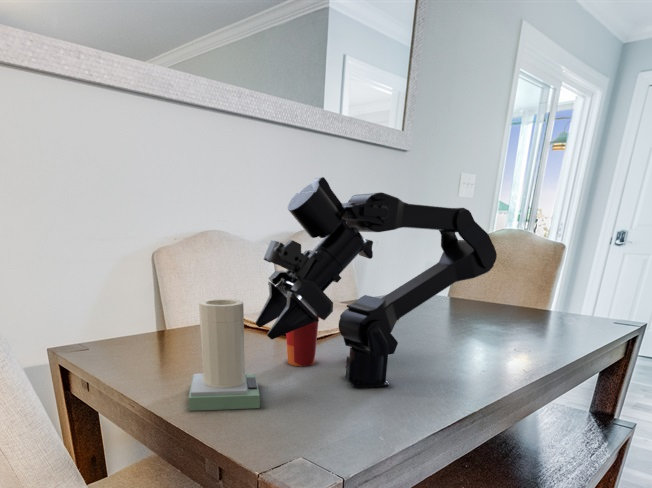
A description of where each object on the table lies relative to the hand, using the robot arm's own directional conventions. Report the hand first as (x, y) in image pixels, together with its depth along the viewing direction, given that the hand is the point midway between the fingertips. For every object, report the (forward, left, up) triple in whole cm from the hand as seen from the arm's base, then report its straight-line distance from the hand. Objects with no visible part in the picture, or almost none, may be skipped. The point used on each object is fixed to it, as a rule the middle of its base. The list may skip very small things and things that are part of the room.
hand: (262, 331), depth 75 cm
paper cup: (-9, -18, -11) cm, 23 cm away
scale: (+7, +1, -11) cm, 13 cm away
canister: (+7, +1, -8) cm, 10 cm away
